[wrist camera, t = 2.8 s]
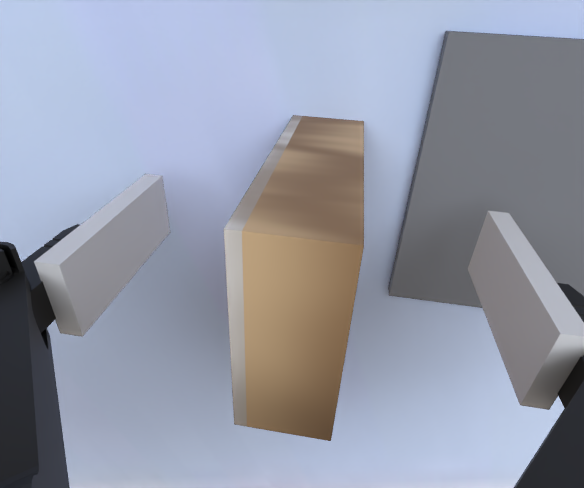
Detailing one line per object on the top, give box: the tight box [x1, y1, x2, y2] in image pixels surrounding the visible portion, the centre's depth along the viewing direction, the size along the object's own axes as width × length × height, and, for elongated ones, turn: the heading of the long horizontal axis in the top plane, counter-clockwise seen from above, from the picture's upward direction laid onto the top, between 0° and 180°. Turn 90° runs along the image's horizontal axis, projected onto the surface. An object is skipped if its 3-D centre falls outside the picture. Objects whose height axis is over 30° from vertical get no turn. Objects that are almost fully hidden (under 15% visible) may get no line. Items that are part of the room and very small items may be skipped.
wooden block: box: [224, 115, 364, 441], centre depth 14 cm, size 3×7×10 cm, turn 178°
